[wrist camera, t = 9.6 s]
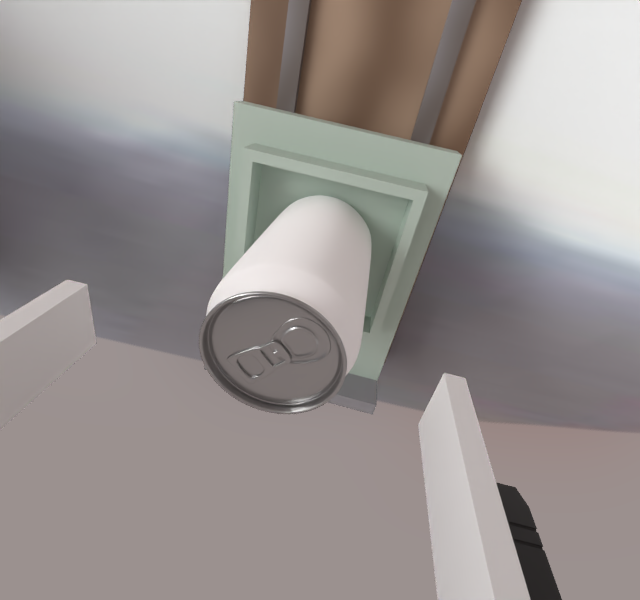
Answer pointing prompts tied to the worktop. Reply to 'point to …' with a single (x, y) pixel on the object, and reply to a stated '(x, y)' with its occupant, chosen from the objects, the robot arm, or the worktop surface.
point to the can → (291, 309)
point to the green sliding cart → (356, 190)
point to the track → (379, 63)
